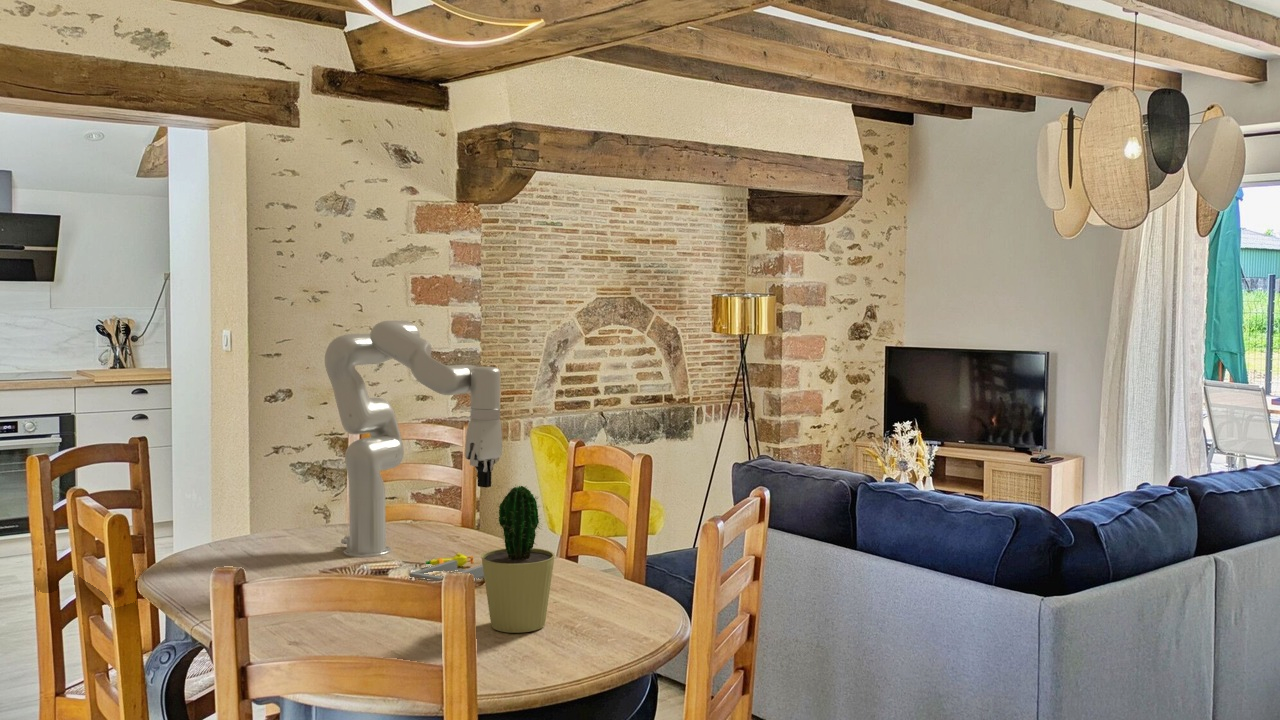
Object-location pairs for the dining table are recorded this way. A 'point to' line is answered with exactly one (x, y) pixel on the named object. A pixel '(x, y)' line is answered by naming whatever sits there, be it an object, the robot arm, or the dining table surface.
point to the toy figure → (458, 557)
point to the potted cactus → (518, 568)
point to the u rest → (447, 566)
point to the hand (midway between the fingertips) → (484, 486)
